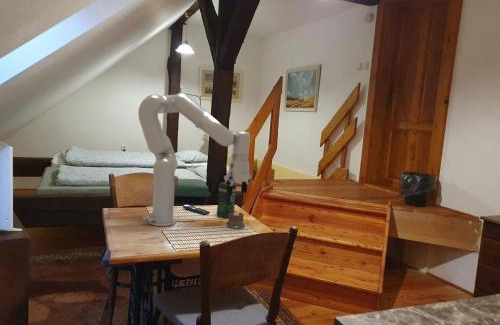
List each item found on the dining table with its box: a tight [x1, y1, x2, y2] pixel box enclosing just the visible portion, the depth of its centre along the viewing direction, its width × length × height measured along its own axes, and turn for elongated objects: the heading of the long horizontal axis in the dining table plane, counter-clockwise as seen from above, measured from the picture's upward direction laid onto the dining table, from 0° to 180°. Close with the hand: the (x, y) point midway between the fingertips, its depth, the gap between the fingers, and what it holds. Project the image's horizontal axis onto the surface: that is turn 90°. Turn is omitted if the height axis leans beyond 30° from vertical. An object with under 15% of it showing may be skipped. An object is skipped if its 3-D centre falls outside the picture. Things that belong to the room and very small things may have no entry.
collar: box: [227, 211, 245, 227], centre depth 172 cm, size 7×7×5 cm
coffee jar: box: [216, 181, 237, 219], centre depth 188 cm, size 10×8×19 cm
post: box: [225, 210, 246, 230], centre depth 172 cm, size 9×9×7 cm
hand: (236, 193), depth 171 cm, fingers open, 9 cm apart
